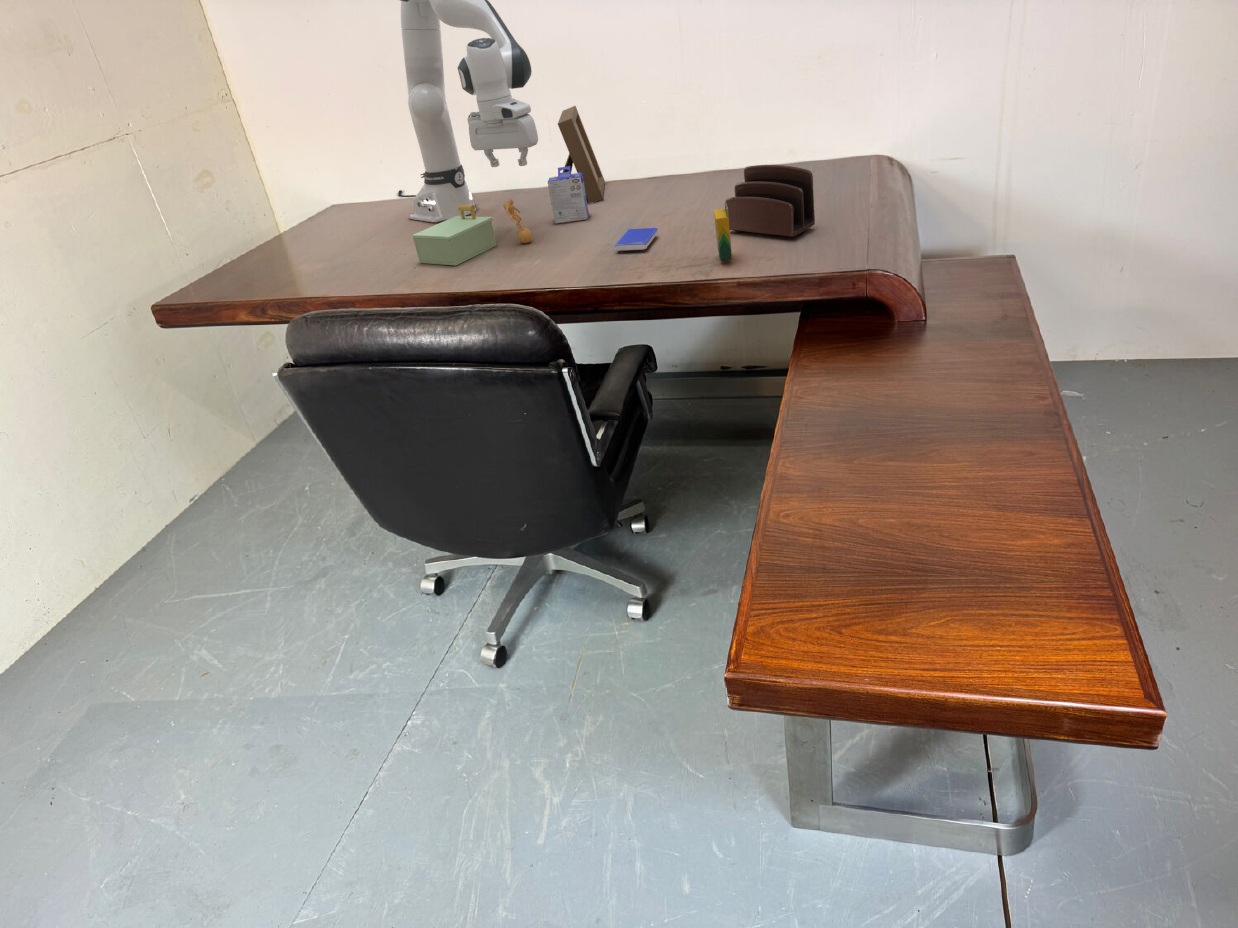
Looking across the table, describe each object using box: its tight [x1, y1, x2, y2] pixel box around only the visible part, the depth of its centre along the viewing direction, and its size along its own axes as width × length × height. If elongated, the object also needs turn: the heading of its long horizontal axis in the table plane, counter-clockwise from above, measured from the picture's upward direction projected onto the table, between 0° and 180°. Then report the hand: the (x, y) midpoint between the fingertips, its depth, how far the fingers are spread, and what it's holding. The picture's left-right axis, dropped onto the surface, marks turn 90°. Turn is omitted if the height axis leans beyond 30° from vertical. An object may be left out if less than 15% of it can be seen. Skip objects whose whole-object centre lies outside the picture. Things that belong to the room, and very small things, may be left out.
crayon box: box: [713, 200, 733, 261], centre depth 193 cm, size 7×3×12 cm, turn 178°
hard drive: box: [614, 227, 659, 251], centre depth 214 cm, size 2×8×12 cm
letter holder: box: [724, 164, 816, 238], centre depth 205 cm, size 10×20×14 cm, turn 47°
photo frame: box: [557, 105, 606, 204], centre depth 260 cm, size 15×22×25 cm
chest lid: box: [412, 205, 494, 240], centre depth 225 cm, size 17×14×5 cm
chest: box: [412, 221, 497, 266], centre depth 228 cm, size 17×14×7 cm
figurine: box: [503, 199, 533, 244], centre depth 226 cm, size 8×6×12 cm
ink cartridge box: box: [547, 166, 590, 224], centre depth 240 cm, size 10×6×14 cm, turn 89°
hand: (509, 166), depth 220 cm, fingers open, 8 cm apart
